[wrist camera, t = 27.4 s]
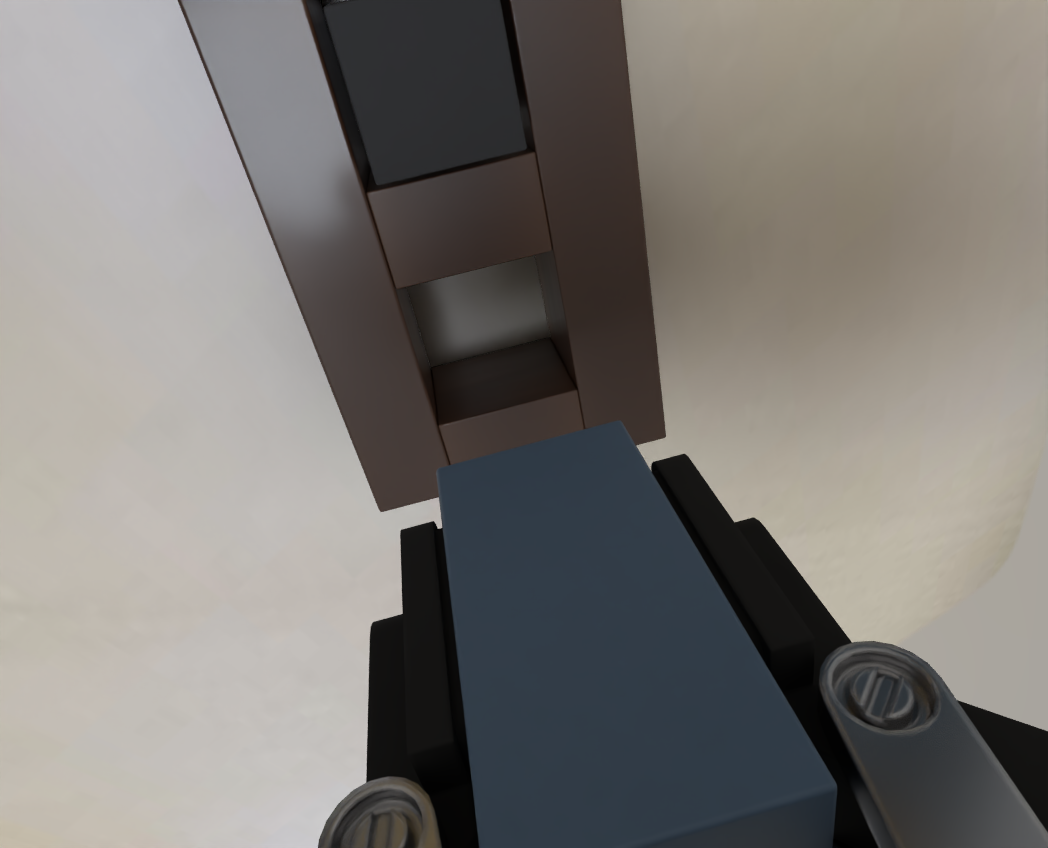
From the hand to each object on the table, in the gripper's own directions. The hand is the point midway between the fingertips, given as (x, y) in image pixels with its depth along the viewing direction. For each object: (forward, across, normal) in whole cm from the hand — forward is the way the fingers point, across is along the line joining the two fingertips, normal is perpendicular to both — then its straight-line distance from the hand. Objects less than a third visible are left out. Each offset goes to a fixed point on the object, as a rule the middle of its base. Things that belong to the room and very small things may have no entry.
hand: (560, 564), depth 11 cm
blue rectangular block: (+1, 0, 0) cm, 1 cm away
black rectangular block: (+13, 0, -7) cm, 15 cm away
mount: (+13, 0, -4) cm, 13 cm away
